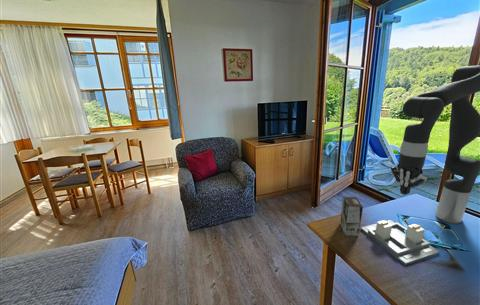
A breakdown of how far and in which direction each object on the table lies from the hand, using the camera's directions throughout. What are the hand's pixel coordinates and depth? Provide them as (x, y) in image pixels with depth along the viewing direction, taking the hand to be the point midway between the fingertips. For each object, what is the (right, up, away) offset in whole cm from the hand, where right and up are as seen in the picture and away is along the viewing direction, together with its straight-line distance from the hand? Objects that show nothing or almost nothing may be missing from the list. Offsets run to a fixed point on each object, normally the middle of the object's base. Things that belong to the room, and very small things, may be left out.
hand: (404, 193), depth 80 cm
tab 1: (0, -22, +13) cm, 26 cm away
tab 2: (+12, -23, +9) cm, 27 cm away
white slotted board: (+6, -24, +12) cm, 27 cm away
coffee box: (-11, -22, +21) cm, 32 cm away
